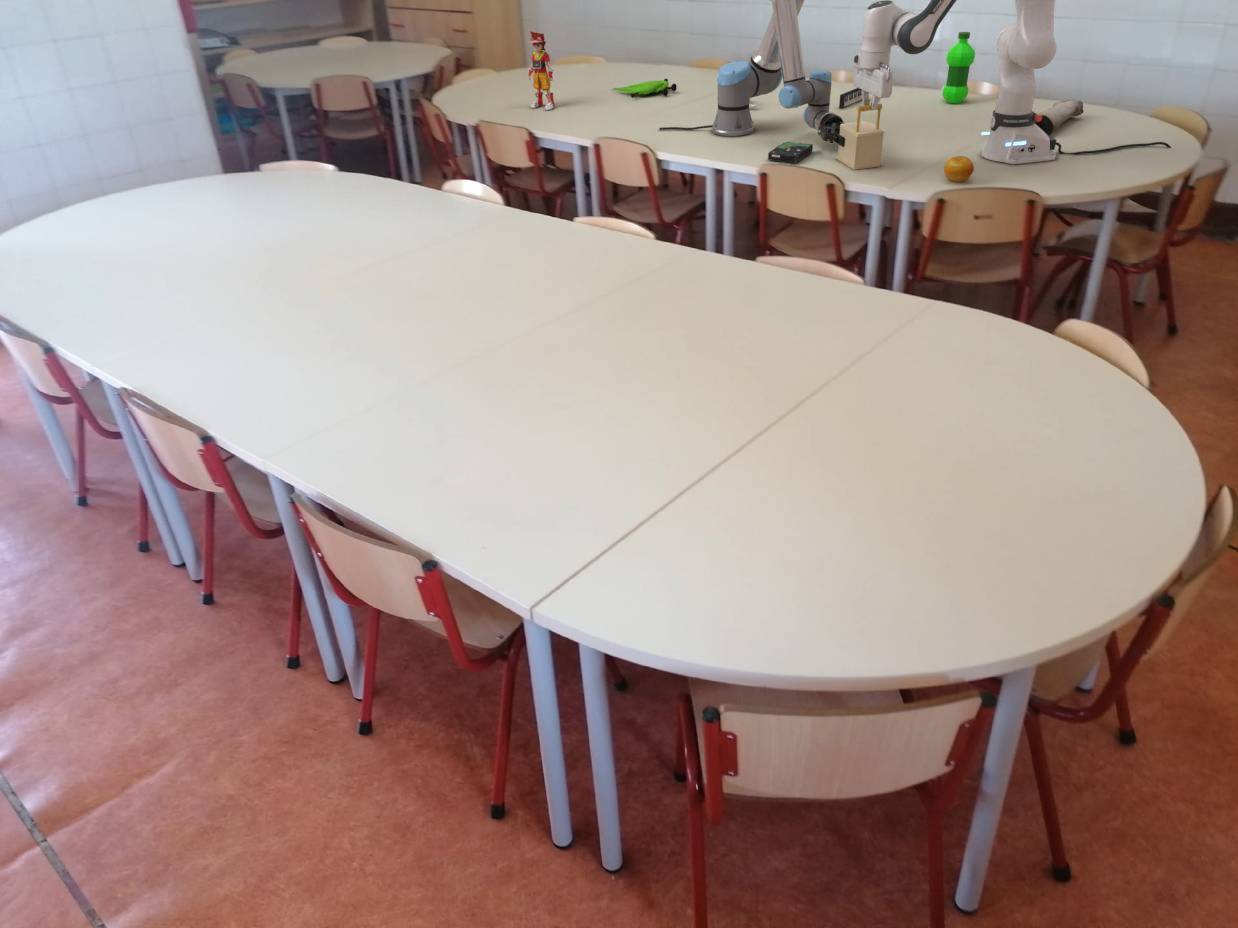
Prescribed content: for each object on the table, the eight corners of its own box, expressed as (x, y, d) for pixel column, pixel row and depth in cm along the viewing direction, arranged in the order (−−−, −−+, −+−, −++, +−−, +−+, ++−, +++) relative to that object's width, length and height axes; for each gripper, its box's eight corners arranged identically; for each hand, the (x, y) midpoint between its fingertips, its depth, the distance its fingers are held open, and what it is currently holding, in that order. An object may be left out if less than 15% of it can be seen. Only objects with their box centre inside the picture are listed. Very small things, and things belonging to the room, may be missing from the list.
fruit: (938, 171, 273) (955, 148, 270) (938, 174, 281) (955, 151, 278) (961, 187, 272) (979, 164, 269) (961, 189, 280) (978, 166, 277)
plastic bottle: (973, 101, 354) (984, 32, 339) (955, 106, 349) (966, 36, 335) (952, 97, 361) (962, 29, 346) (934, 102, 356) (944, 33, 342)
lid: (884, 133, 286) (887, 105, 281) (857, 137, 285) (860, 109, 280) (865, 123, 297) (868, 96, 292) (840, 127, 296) (842, 99, 291)
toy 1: (525, 109, 381) (517, 32, 364) (534, 104, 388) (527, 28, 371) (550, 110, 377) (543, 32, 360) (559, 105, 384) (553, 28, 367)
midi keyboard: (841, 108, 355) (842, 95, 352) (838, 108, 356) (840, 94, 353) (863, 99, 366) (865, 86, 363) (860, 98, 366) (862, 86, 364)
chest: (879, 166, 293) (883, 133, 287) (853, 169, 291) (857, 136, 285) (862, 156, 303) (865, 124, 297) (837, 159, 302) (840, 127, 296)
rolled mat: (1050, 105, 332) (1075, 87, 323) (1064, 125, 332) (1089, 108, 324) (1018, 127, 314) (1043, 109, 306) (1032, 149, 315) (1057, 131, 306)
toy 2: (686, 85, 398) (631, 84, 414) (685, 72, 395) (629, 72, 411) (651, 104, 381) (596, 103, 397) (650, 92, 378) (594, 91, 394)
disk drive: (796, 164, 299) (812, 151, 309) (796, 156, 298) (813, 143, 308) (767, 161, 304) (784, 148, 314) (767, 152, 302) (785, 140, 312)
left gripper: (857, 132, 317) (887, 148, 299) (799, 139, 314) (825, 156, 295) (859, 109, 313) (889, 125, 295) (800, 116, 309) (827, 132, 291)
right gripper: (900, 65, 268) (894, 113, 276) (869, 53, 284) (864, 99, 292) (880, 67, 267) (875, 115, 275) (850, 55, 283) (846, 101, 291)
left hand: (857, 140), depth 295 cm, fingers closed on chest, 9 cm apart
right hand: (869, 107), depth 284 cm, fingers open, 4 cm apart
